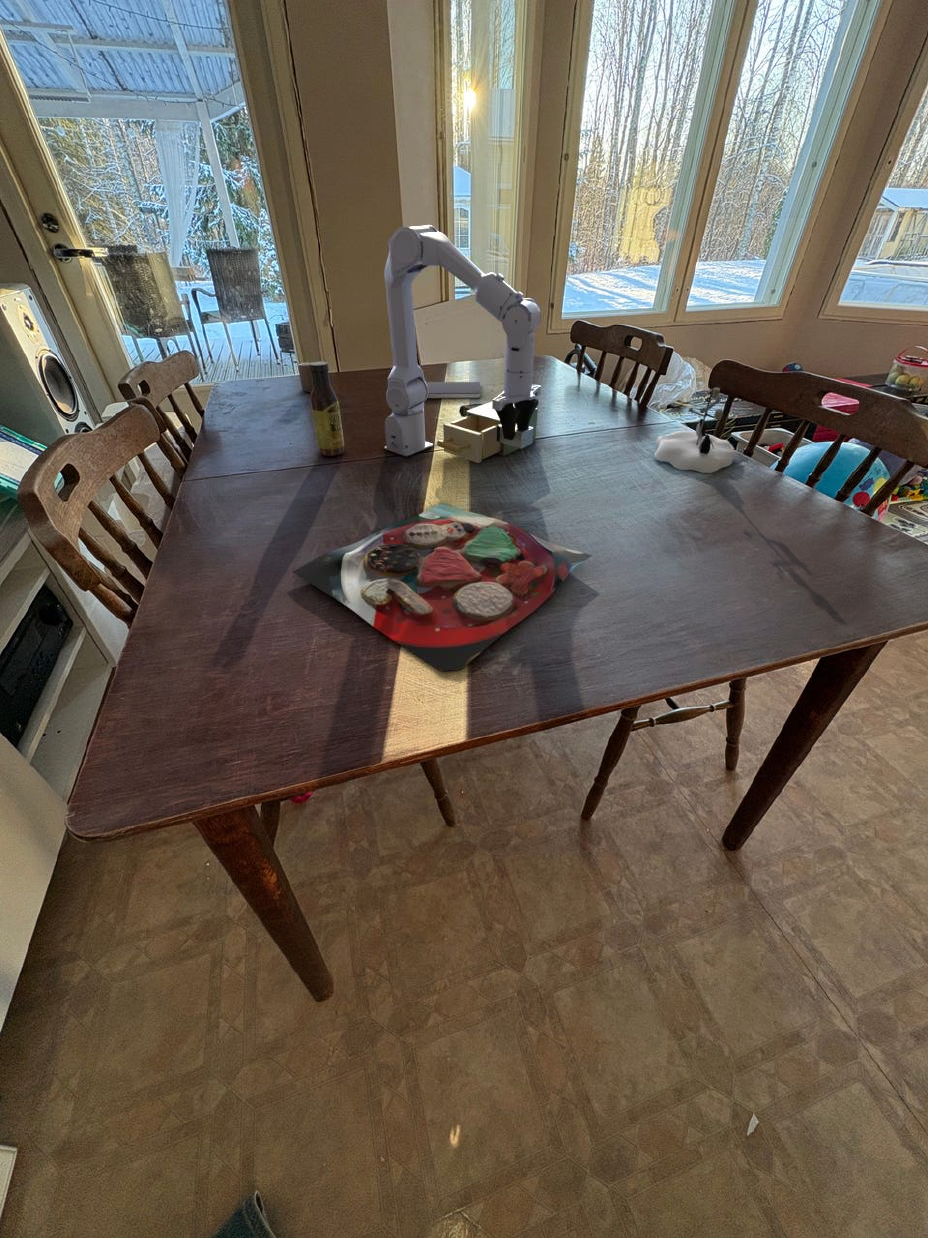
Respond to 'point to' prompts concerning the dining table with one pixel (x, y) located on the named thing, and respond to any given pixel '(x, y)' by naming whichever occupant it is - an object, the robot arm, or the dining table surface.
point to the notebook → (453, 390)
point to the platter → (444, 581)
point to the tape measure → (467, 408)
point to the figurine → (697, 444)
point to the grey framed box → (517, 436)
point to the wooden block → (305, 377)
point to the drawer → (471, 438)
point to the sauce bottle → (325, 412)
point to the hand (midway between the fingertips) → (514, 436)
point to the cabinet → (491, 414)
